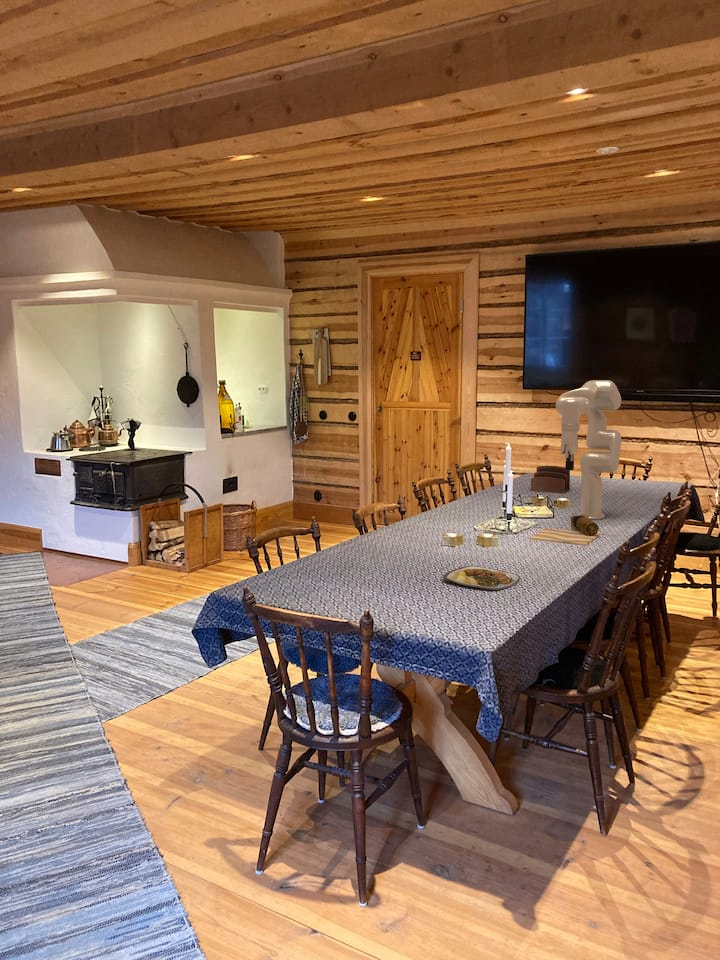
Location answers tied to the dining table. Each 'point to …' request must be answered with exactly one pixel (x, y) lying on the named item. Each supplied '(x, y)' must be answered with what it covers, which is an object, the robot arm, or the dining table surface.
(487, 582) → the meal
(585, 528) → the condiment
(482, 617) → the dining table surface
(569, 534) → the oak board
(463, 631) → the dining table surface
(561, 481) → the letter holder
